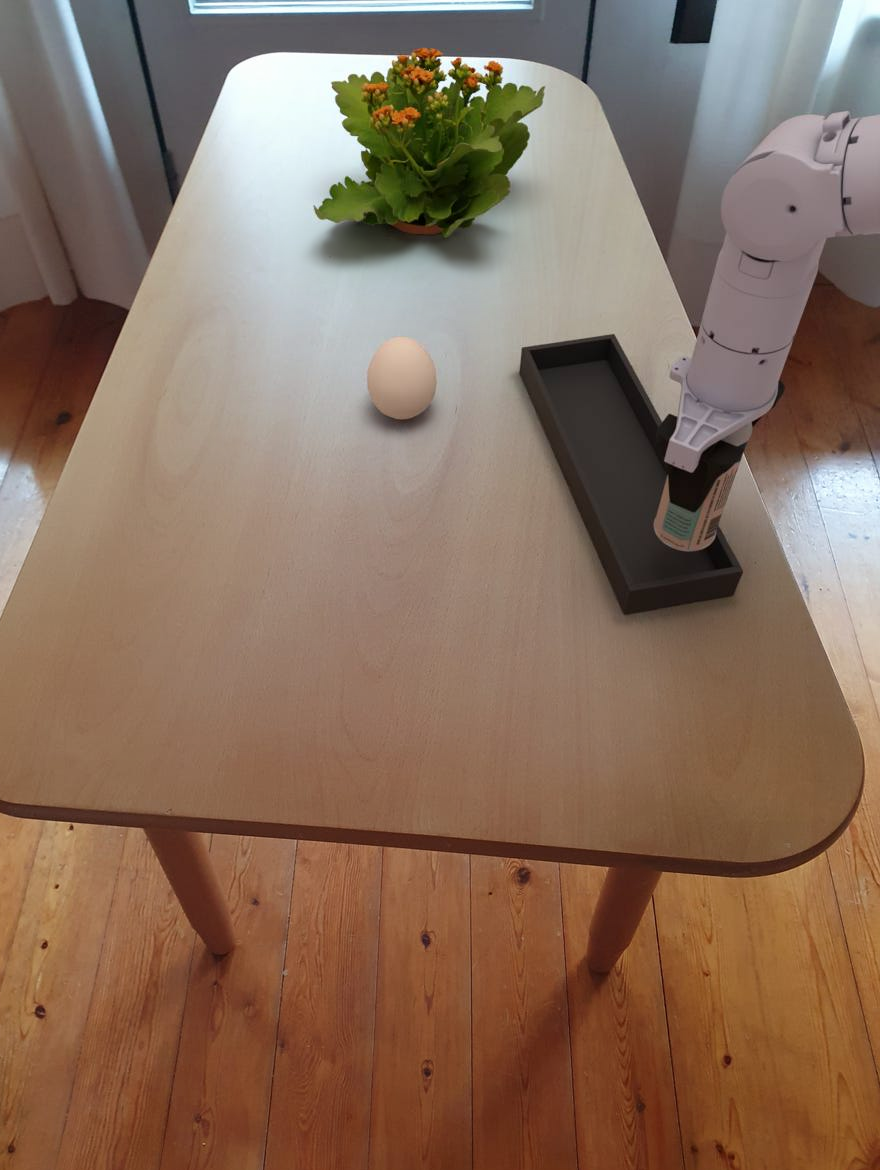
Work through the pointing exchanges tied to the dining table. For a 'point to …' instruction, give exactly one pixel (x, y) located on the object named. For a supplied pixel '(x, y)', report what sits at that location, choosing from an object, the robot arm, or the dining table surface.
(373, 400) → the egg
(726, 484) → the beer can
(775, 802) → the dining table surface
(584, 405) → the baking pan
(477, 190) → the potted flower
